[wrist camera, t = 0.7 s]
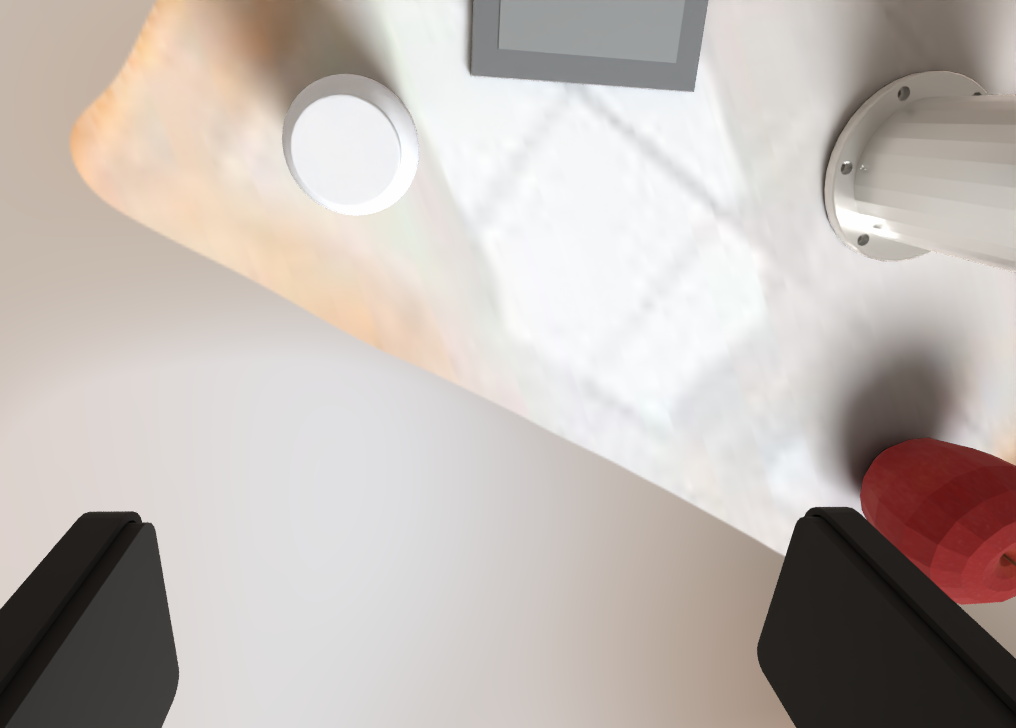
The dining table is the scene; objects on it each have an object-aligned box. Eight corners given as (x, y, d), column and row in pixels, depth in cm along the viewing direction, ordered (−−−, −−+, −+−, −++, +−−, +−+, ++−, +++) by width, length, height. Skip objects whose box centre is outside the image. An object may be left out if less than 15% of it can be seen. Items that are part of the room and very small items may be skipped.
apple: (802, 474, 52) (923, 584, 40) (913, 383, 50) (1076, 470, 38) (865, 546, 56) (991, 665, 44) (970, 465, 55) (1131, 566, 42)
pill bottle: (315, 67, 35) (275, 46, 24) (426, 98, 36) (435, 92, 26) (300, 181, 37) (257, 208, 26) (405, 206, 38) (405, 241, 28)
